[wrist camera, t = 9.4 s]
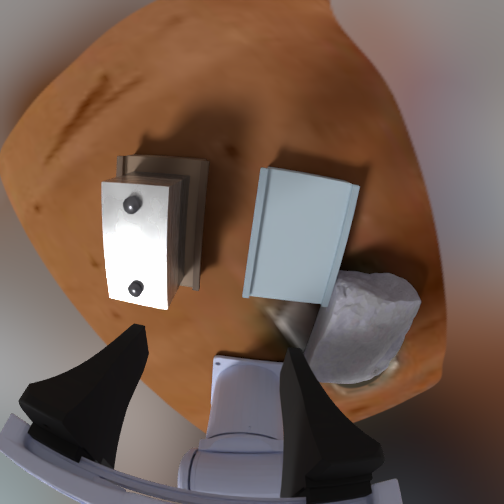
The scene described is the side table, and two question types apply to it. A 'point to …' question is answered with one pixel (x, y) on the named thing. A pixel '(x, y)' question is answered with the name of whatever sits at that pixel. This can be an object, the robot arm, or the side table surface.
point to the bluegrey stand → (298, 235)
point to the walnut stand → (196, 201)
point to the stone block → (361, 326)
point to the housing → (145, 236)
